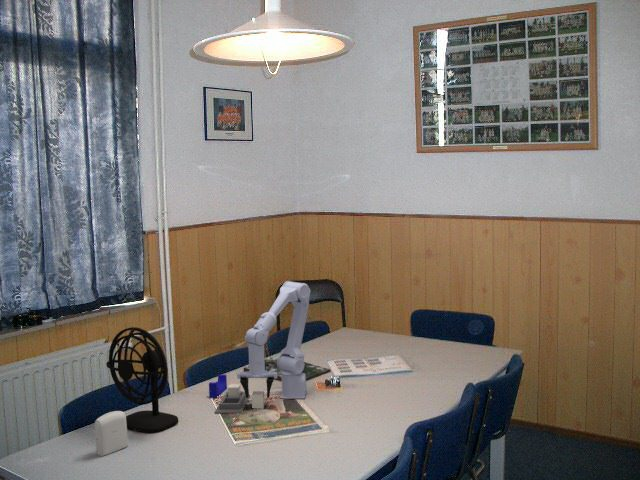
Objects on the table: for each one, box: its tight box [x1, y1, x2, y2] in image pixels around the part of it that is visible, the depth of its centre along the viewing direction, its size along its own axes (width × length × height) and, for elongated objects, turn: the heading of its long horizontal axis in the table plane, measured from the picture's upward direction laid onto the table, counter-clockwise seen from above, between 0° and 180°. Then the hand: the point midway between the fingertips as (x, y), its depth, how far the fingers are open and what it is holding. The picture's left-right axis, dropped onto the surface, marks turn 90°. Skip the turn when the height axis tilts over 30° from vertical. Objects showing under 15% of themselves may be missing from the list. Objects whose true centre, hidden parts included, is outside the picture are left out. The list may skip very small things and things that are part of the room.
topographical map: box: [243, 357, 332, 382], centre depth 313 cm, size 26×33×3 cm
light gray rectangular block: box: [251, 390, 266, 410], centre depth 266 cm, size 4×4×6 cm
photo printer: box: [94, 410, 129, 457], centre depth 229 cm, size 10×4×12 cm, turn 140°
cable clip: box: [208, 374, 228, 399], centre depth 284 cm, size 12×4×6 cm, turn 168°
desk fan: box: [105, 326, 179, 433], centre depth 250 cm, size 27×18×35 cm, turn 59°
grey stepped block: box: [214, 383, 251, 415], centre depth 270 cm, size 10×20×6 cm, turn 177°
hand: (257, 397), depth 266 cm, fingers open, 7 cm apart
